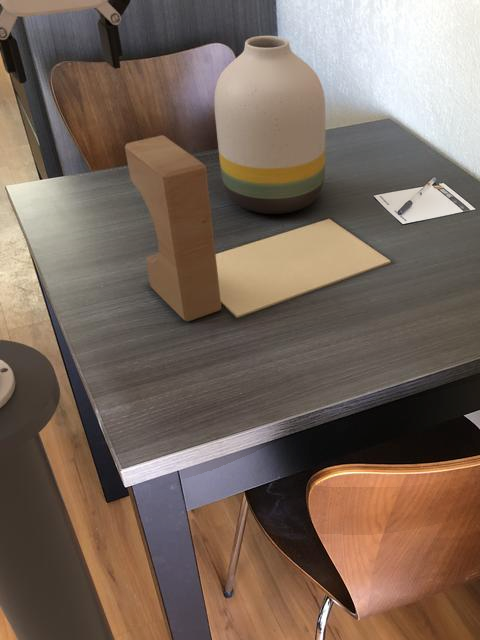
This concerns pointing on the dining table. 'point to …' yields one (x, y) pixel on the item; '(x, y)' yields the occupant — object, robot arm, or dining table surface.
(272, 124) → the vase
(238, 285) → the felt mat
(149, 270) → the decorative block
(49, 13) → the robot arm
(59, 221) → the dining table surface
